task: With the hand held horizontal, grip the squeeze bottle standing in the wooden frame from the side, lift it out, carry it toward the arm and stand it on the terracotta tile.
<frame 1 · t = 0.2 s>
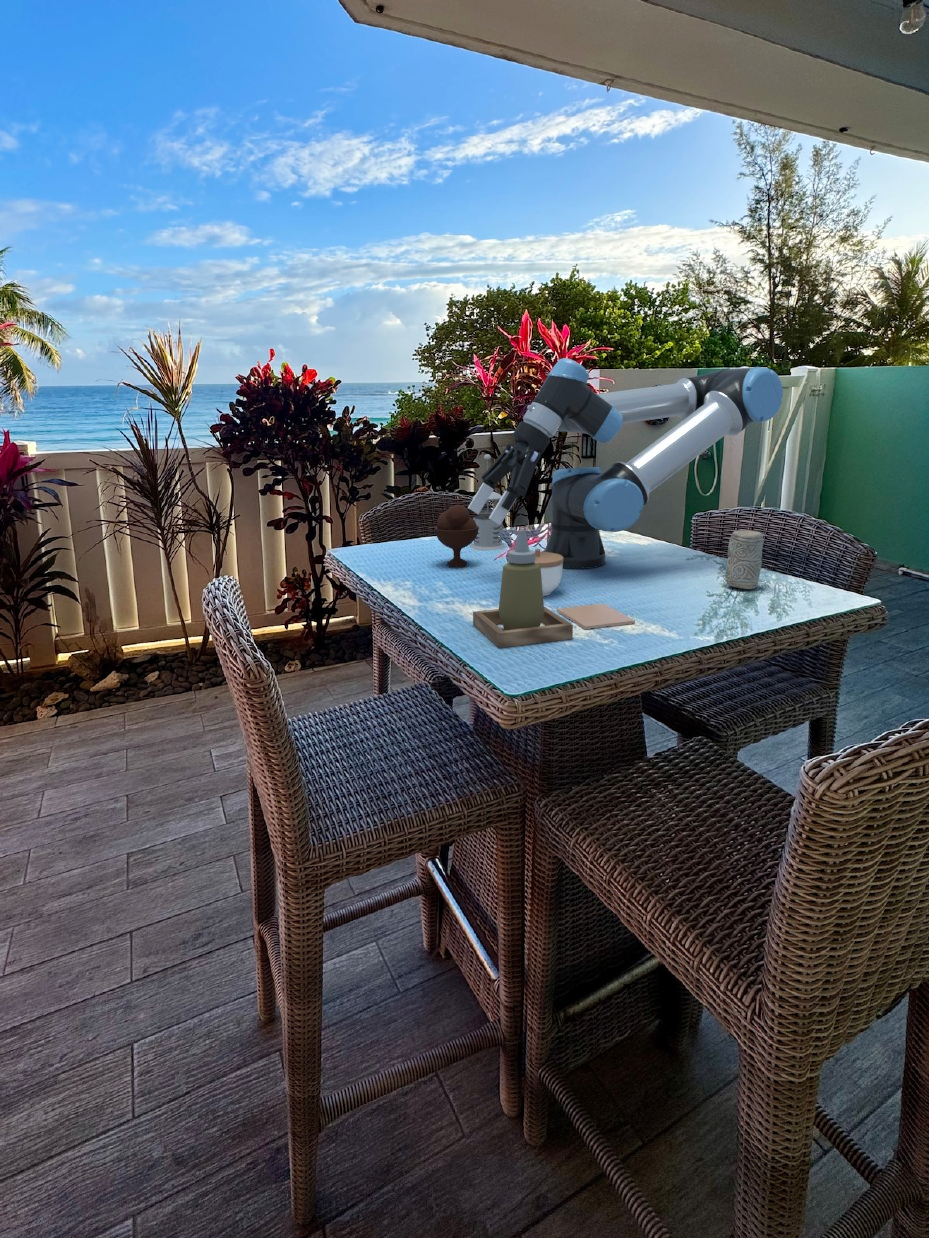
hand: (483, 516, 153), 15 cm above the table, tool tilted 35°, fingers open, 13 cm apart
tile: (594, 617, 134), on the table
lidded jar: (537, 593, 151), on the table
wooden frame: (521, 631, 126), on the table
squeeze bottle: (521, 632, 126), resting in wooden frame
carving: (741, 588, 152), on the table
ice cream bowl: (457, 565, 177), on the table
french press: (488, 546, 198), on the table
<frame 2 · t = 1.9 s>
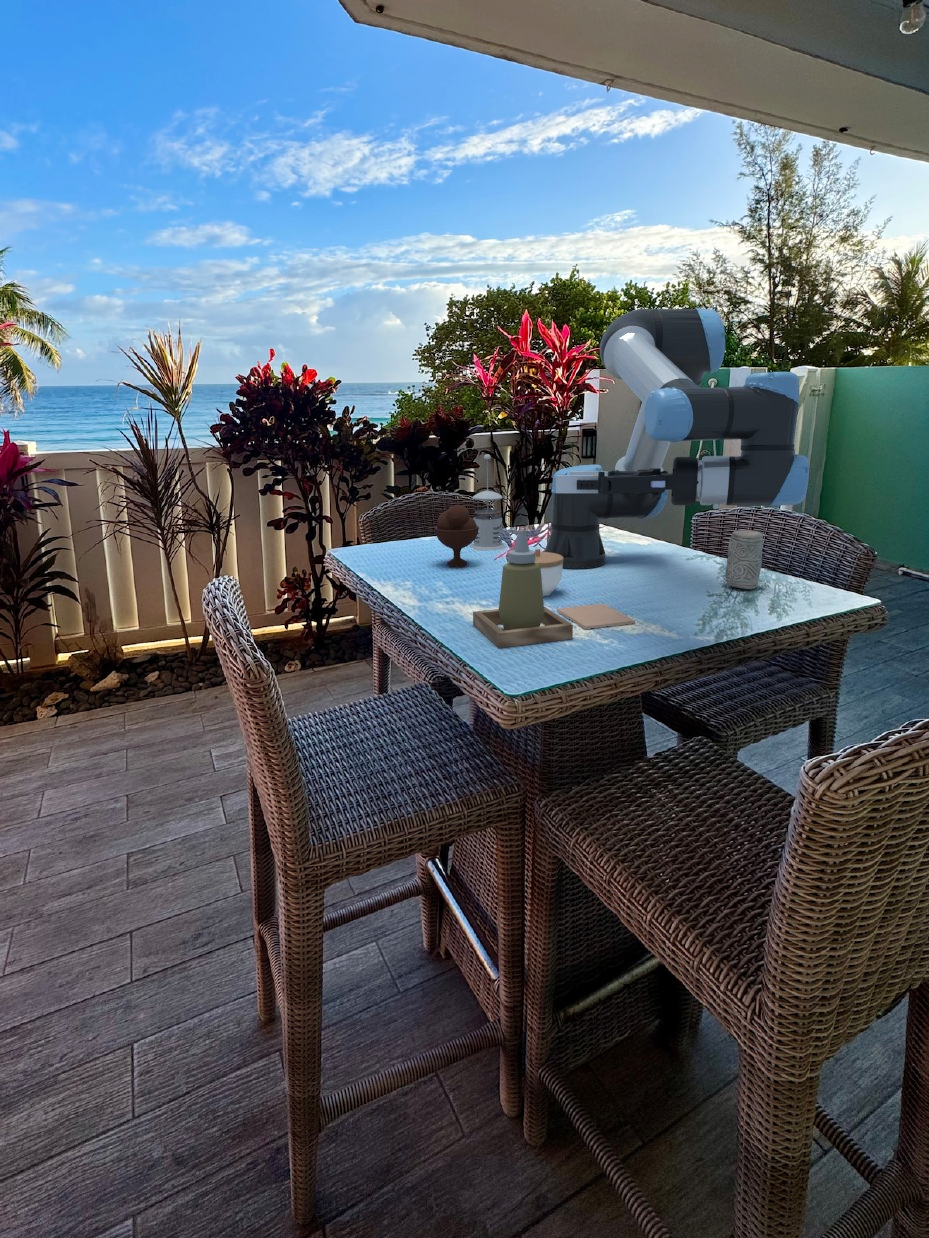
hand: (563, 481, 118), 26 cm above the table, tool horizontal, fingers open, 13 cm apart
nothing on the table moved.
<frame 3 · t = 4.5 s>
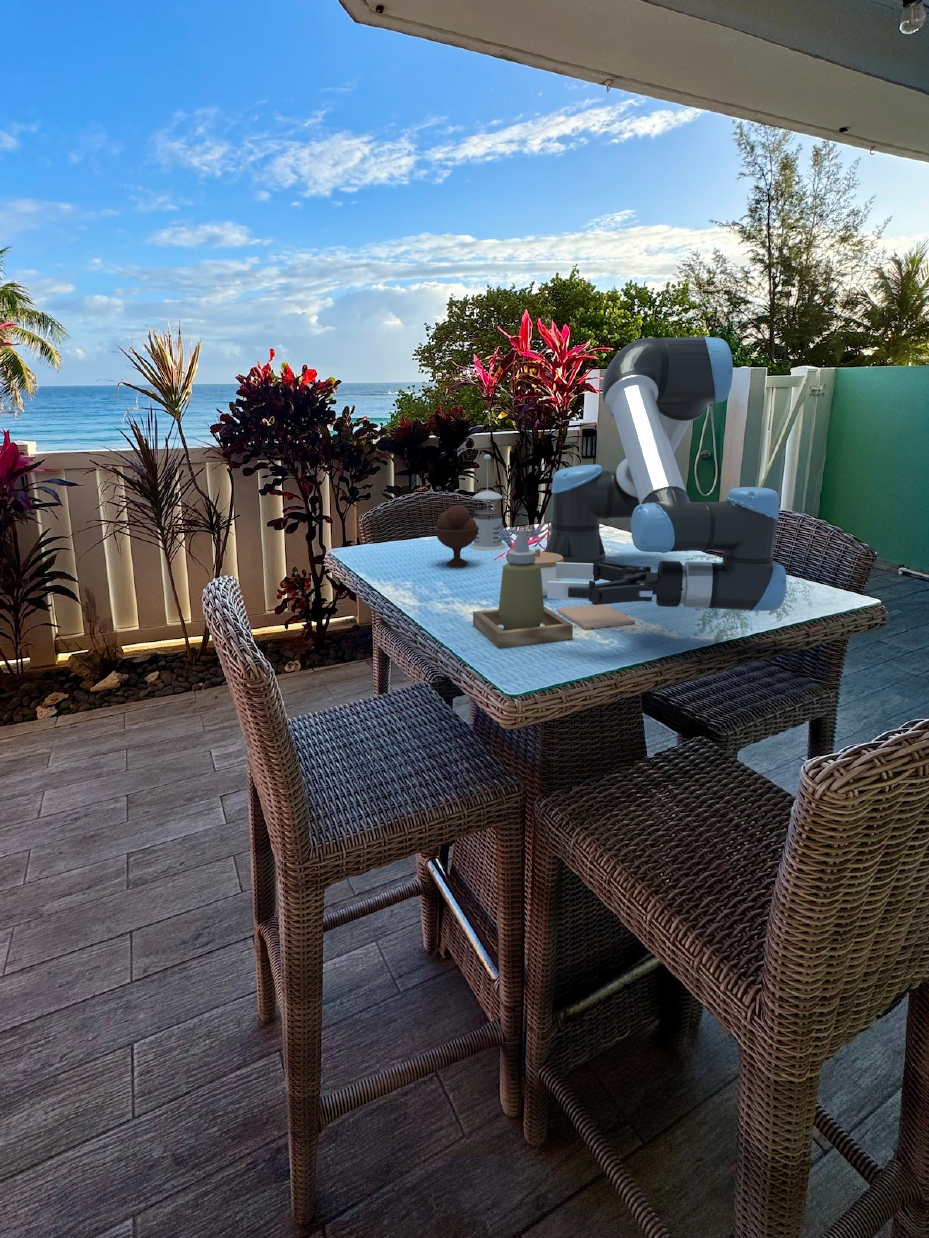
hand: (551, 579, 122), 10 cm above the table, tool horizontal, fingers open, 13 cm apart
nothing on the table moved.
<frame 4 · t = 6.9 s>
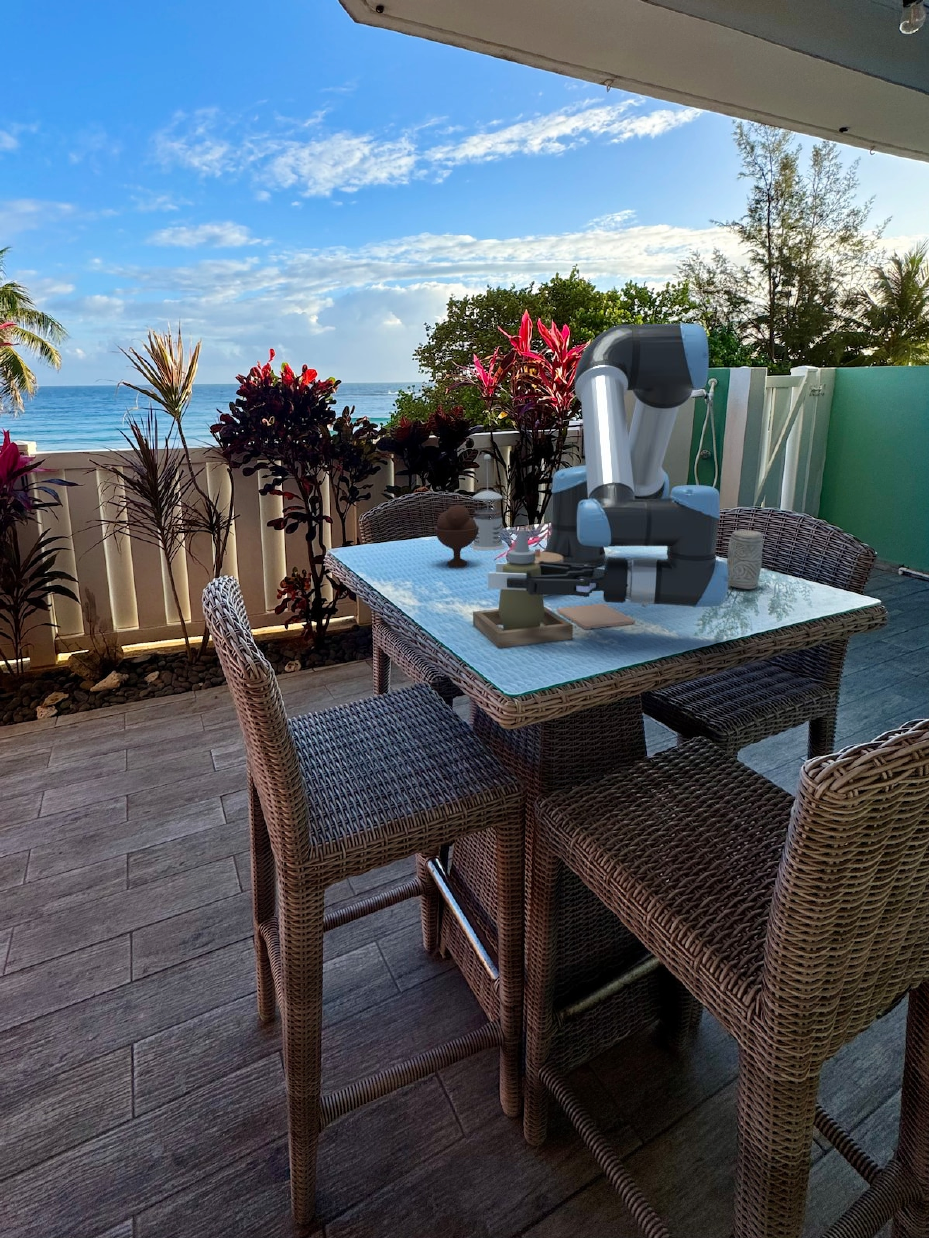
hand: (492, 575, 124), 10 cm above the table, tool horizontal, fingers closed on squeeze bottle, 6 cm apart
squeeze bottle: (521, 632, 126), resting in wooden frame, touching gripper
everything else where it was.
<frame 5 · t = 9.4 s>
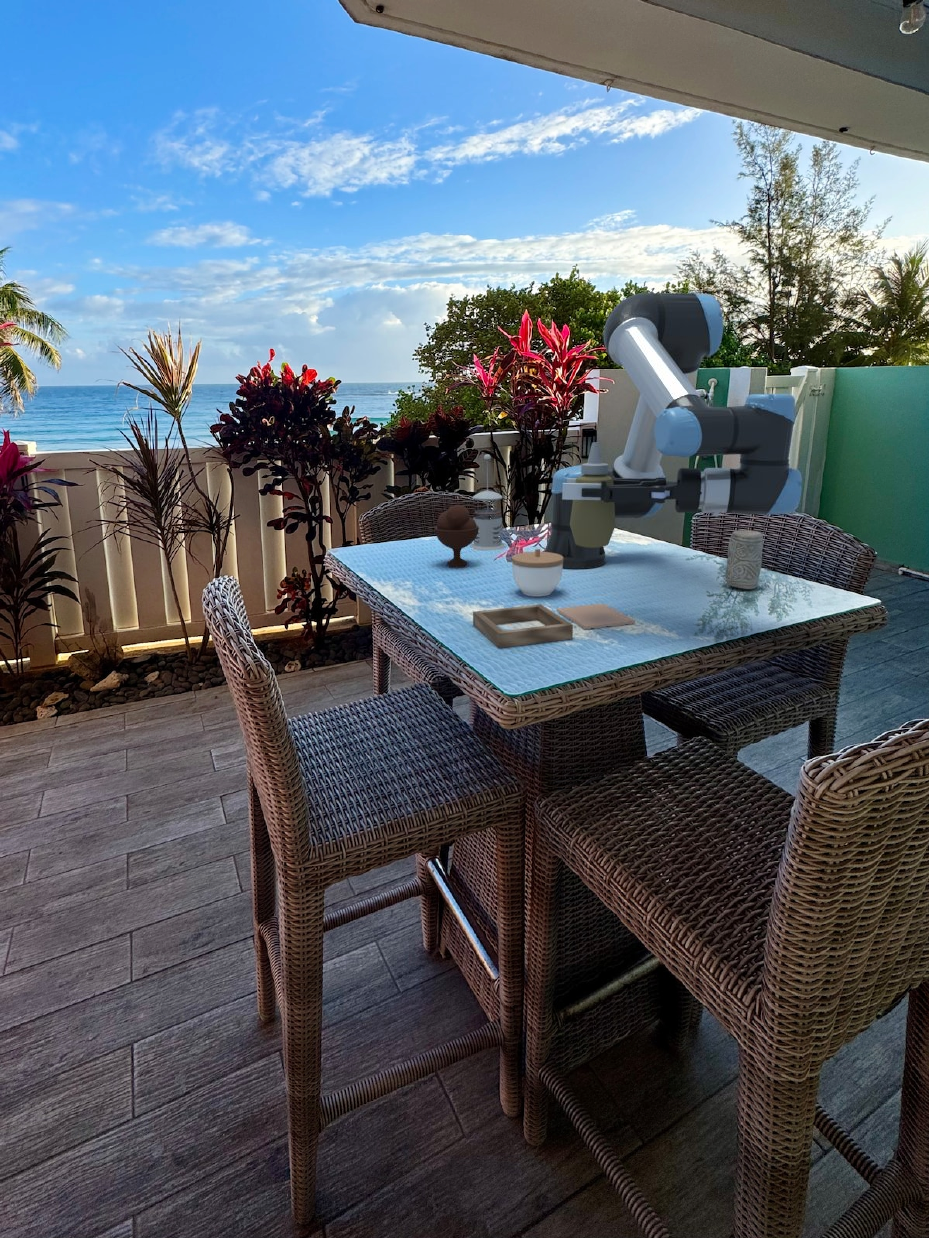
hand: (565, 488, 127), 24 cm above the table, tool horizontal, fingers closed on squeeze bottle, 6 cm apart
squeeze bottle: (591, 546, 129), point 14 cm above the table, touching gripper
everything else where it was.
when the fingers open (11 cm above the table, at t = 12.3 s): squeeze bottle stays where it is, resting on tile.
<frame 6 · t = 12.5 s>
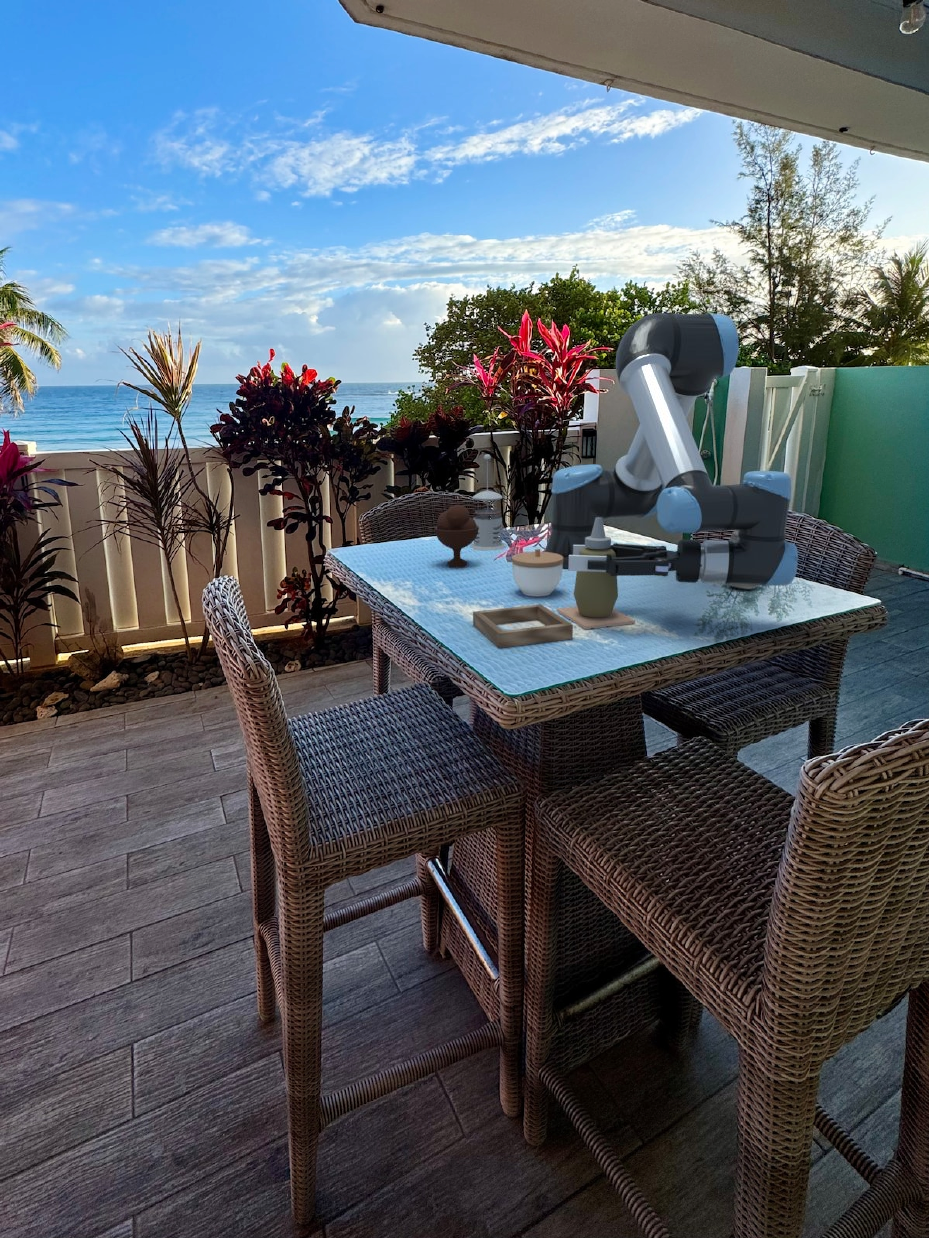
hand: (571, 557, 131), 11 cm above the table, tool horizontal, fingers open, 8 cm apart
squeeze bottle: (594, 615, 133), resting on tile
everything else where it was.
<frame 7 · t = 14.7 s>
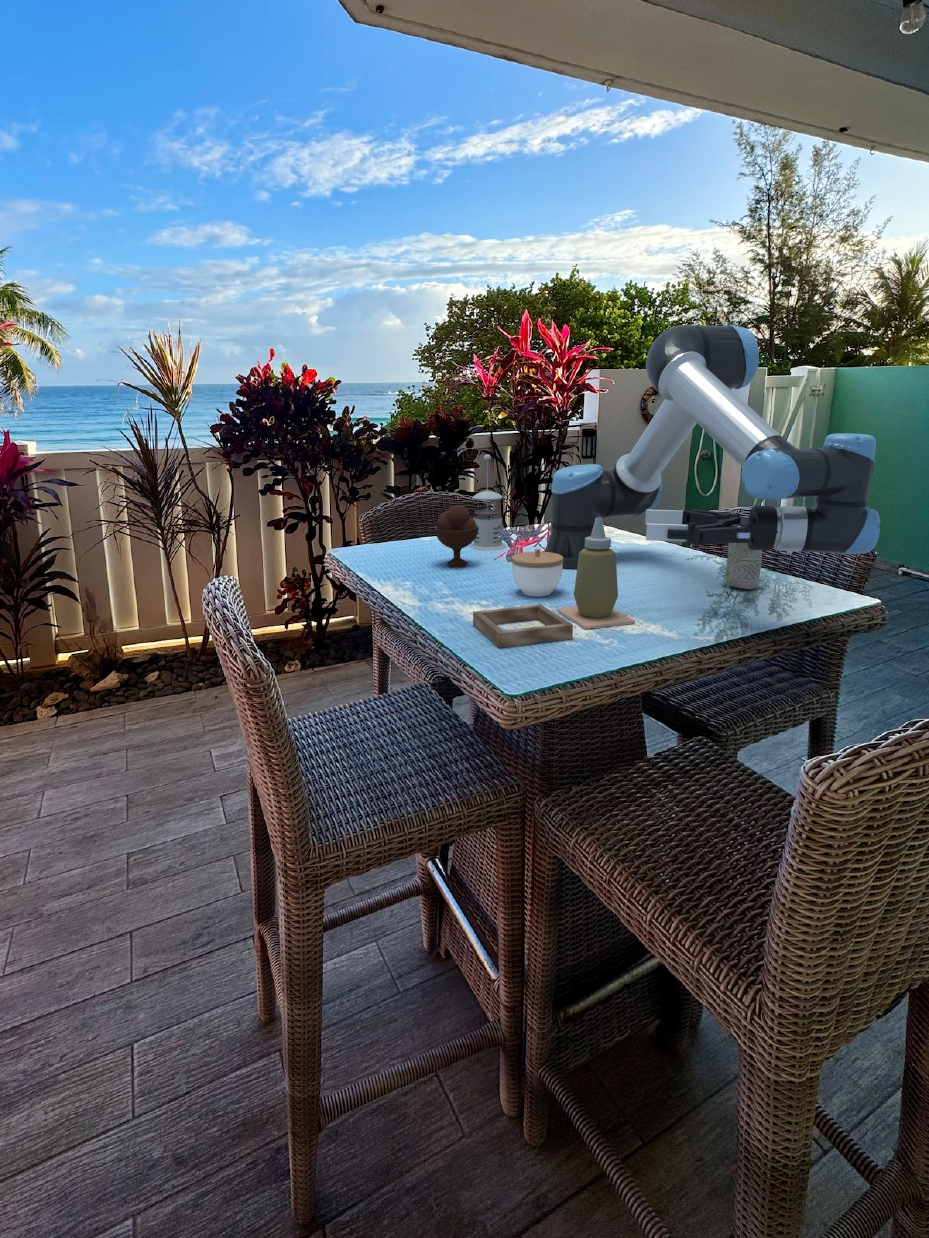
hand: (645, 524, 126), 18 cm above the table, tool horizontal, fingers open, 13 cm apart
nothing on the table moved.
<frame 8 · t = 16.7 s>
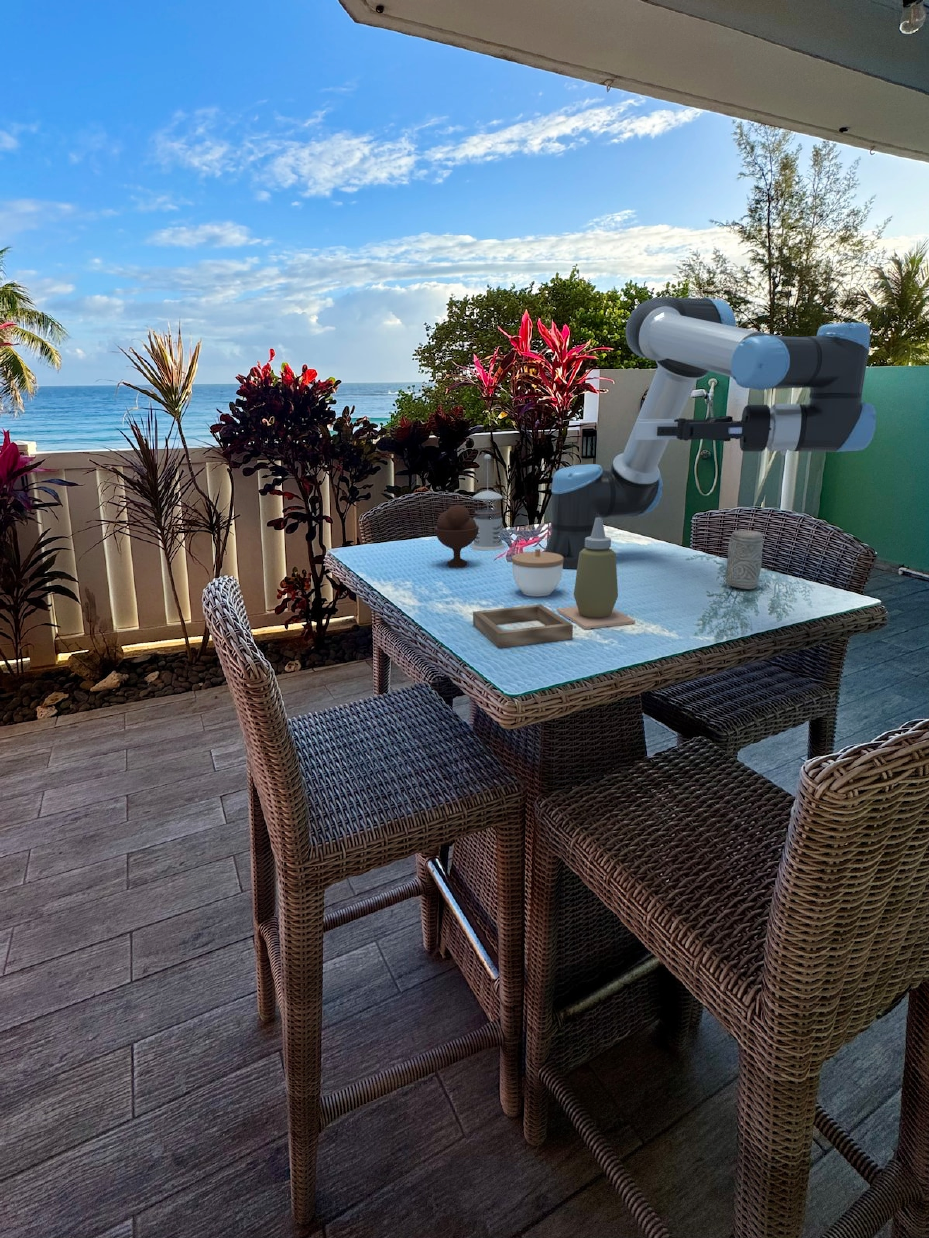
hand: (635, 429, 123), 34 cm above the table, tool horizontal, fingers open, 13 cm apart
nothing on the table moved.
at the end: squeeze bottle inside the target area on the tile (0.1 cm from its centre), point 0.4 cm above the tile's base; squeeze bottle tilted 0°; squeeze bottle moved 16.3 cm from its start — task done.
